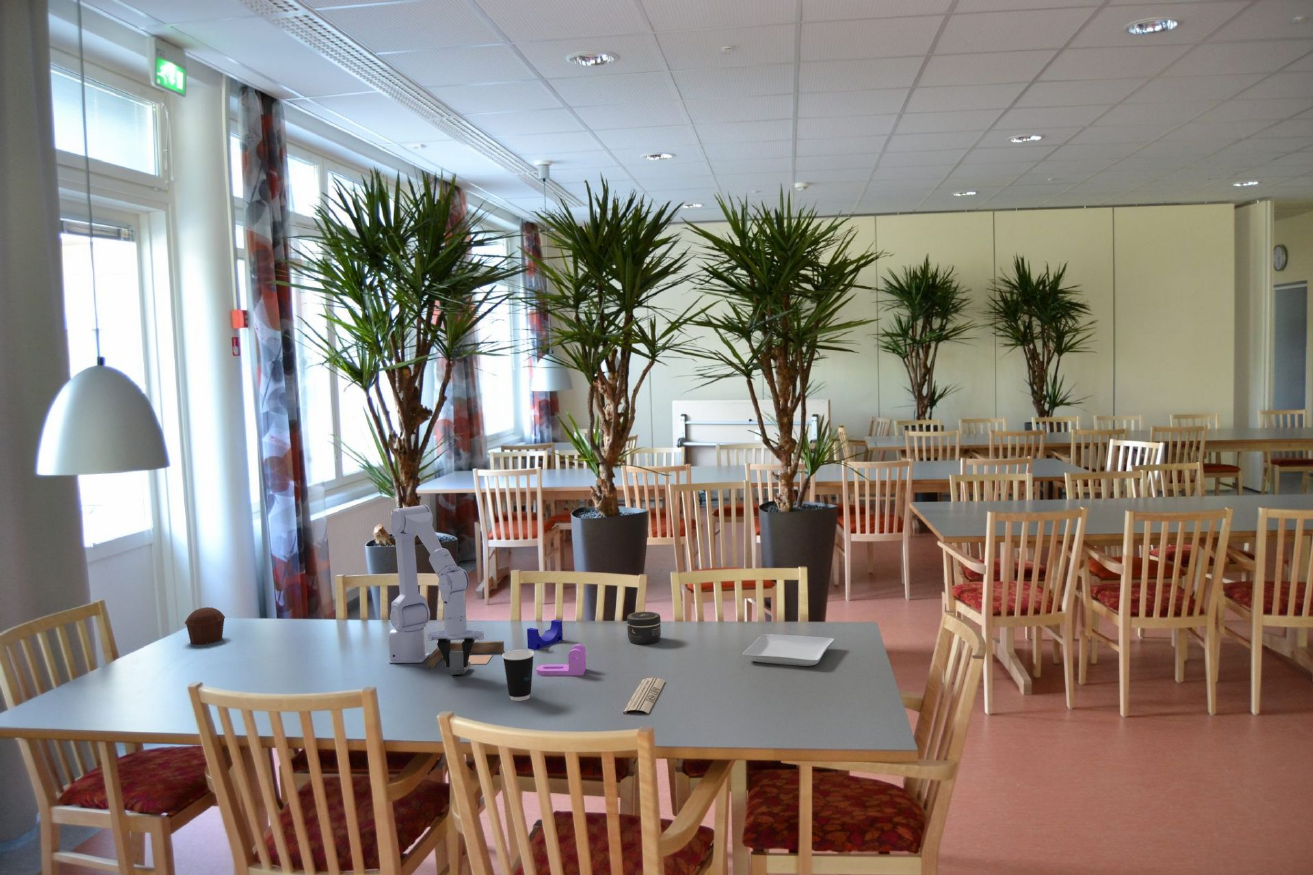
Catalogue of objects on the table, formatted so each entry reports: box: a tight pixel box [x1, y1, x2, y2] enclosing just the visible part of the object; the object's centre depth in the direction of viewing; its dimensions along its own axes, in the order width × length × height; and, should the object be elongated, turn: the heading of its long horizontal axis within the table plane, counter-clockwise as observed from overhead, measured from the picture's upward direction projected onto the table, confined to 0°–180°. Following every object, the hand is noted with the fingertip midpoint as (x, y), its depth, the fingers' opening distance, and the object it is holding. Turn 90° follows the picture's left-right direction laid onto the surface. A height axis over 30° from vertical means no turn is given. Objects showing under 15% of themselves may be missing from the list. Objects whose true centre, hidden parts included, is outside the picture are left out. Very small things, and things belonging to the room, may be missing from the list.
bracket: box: [535, 643, 587, 677], centre depth 260 cm, size 13×6×7 cm, turn 85°
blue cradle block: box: [526, 619, 564, 651], centre depth 288 cm, size 12×4×6 cm, turn 144°
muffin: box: [184, 607, 226, 645], centre depth 303 cm, size 12×11×10 cm
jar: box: [626, 611, 662, 646], centre depth 288 cm, size 10×10×8 cm
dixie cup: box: [501, 649, 535, 702], centre depth 240 cm, size 8×8×11 cm
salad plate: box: [742, 633, 835, 667], centre depth 268 cm, size 21×21×3 cm
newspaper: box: [622, 677, 666, 715], centre depth 238 cm, size 24×7×2 cm, turn 170°
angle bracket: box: [448, 651, 472, 675], centre depth 262 cm, size 7×4×6 cm, turn 177°
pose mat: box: [468, 654, 493, 666], centre depth 274 cm, size 11×8×1 cm
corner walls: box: [427, 640, 505, 669], centre depth 274 cm, size 18×15×3 cm
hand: (457, 666), depth 259 cm, fingers closed on angle bracket, 4 cm apart
